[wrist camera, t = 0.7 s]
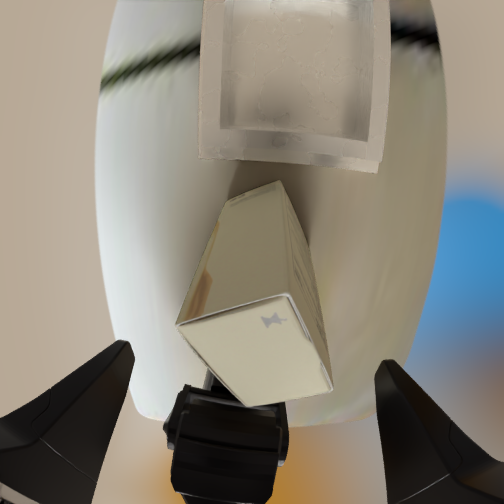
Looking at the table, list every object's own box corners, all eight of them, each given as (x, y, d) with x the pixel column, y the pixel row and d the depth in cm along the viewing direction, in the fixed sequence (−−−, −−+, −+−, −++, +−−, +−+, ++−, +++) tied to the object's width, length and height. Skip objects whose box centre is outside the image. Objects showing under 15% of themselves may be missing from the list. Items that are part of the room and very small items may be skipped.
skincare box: (223, 200, 20) (163, 319, 9) (281, 177, 18) (286, 282, 8) (260, 272, 22) (244, 412, 12) (312, 254, 21) (336, 395, 10)
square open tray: (374, 171, 18) (393, 185, 14) (200, 157, 18) (184, 168, 15) (382, -7, 11) (401, -24, 8) (208, -23, 11) (194, -45, 8)
